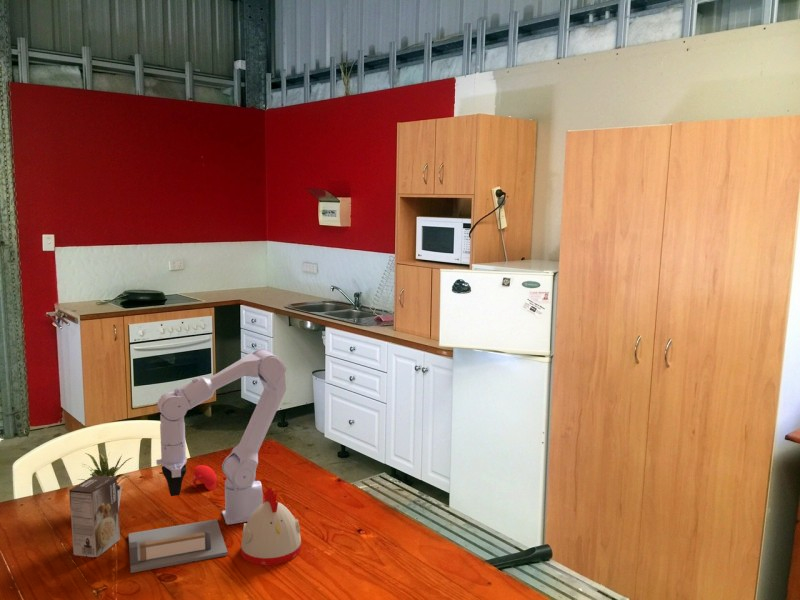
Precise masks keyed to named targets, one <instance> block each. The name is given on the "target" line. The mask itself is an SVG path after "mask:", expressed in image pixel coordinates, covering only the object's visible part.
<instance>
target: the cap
mask: <svg viewBox="0 0 800 600" xmlns="http://www.w3.org/2000/svg"><path fill="white" fill-rule="evenodd" d="M217 478H218V476H217V475H216V473H215V471H214V470H213V469H212V468H211V467H209V466H208V465H203V464H200V465H197V466H196V467H195V468H194V470H193V476H192V483H193V487H194V488H195V489H196V488H197V483H196V482H197V481H199V483H202V484H203V485H204V487H205V488H206V489H207V490H208V491H213V490H215V489H216V487H217V483H218V482H217Z"/></svg>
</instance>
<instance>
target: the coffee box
mask: <svg viewBox="0 0 800 600" xmlns="http://www.w3.org/2000/svg"><path fill="white" fill-rule="evenodd" d="M117 483H118V479H117V477H116V476H114V477H108V476H95V475H94V476H90V477H89V478H87V479H84V480H83V481H82V482H80V483H79V484H76V485H75V486H74V487H72V488H69V490H68V491H69V504H70V505H69V507H70V518H71V520H70V521H71V523H70V524H71V533H72V551H73V555H74V556H80V557H86V556H87V557H88V558H94V557H97V558H98V557H100V556H101V555H102V554H104V552H106V551H108V550H109V549H110V548H111V547H112V546H114V545H115V544H117V542H119V541H121V534H120V533H121V530H120V529H121V528H120V514H119V510H120V509H119V510H118V494H117Z"/></svg>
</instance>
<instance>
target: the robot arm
mask: <svg viewBox="0 0 800 600" xmlns="http://www.w3.org/2000/svg"><path fill="white" fill-rule="evenodd" d="M286 371H287V367H286V366H285V363H284V361H283V360H282V359H281V357H279V356H278V355H276V354H273V353H272V352H270V351H268V350H267V349H265V348H259V349H256V350H255V351H253V352H250V353H247V354H246V355H244V356H243V357H242V358H240V359H238V360H237V361H235V362H233V363H232V364H231V365H228V366H227V367H225V368H224V369H222V370H221V371H218V372H217V373H215V374H213V375H212V376H210V377H204V376H200V377H196V376H195V377H193V378H191V382H189V383H187V384H185V385H183V386H182V387H180V388H178V387H176V388H174V389H173V391H168V392H165V393H164V394H162V395H161V396H160V398H158V401H157V404H156V408H157V411H159V413H160V416H159V417H160V419H159V422H160V424H159V427H160V428H159V429H160V430H159V431H160V452H161V453H160V454H161V455H160V458H159V459H156V462H155V464H156V465H157V466H160V465H161V471H162V475H163V476H164V477H165V481H167V482H166V483H167V487H168V491H169V494H170V496H171V497H176V496H180V495H181V490H182V485H183V480H184V477H185V475H186V473H187V471H188V469H187V464H186V463H187V461H188V459H187V457H188V456H187V455H186V454H187V453H186V452H187V451H186V450H187V449H186V448H187V447H186V423H185V416H186V415H187V412H188V411H189V410H192V409H194V407H196V406H199V405H200V404H202V403H204V402H206V401H208V400H209V399H211V398H213V396H214V395H215V392H216V390H219V389H220V388H222V387H224V386H226V385H228V384H230V383H232V382H234V381H237V380H239V379H241V378H242V377H243V378H244V377H251V378H259V381H260V382H261V385H262V387H263V391H262V393H261V394H260V397H259V399H258V402H257V404H256V406H255V408H254V411H253V412H252V414H251V417H250V419H249V422H248V424H247V426H246V428H245V431H244V433H243V434H242V437H241V439H240V441H239V444H236V446H235V447H233V448H232V450H231V452H230V453H229V455H227V456H226V458H225V459H224V460H223V462H222V466H221V469H222V472H223V473H224V475H225V476H226V479H225V482H224V502H225V503H224V504H225V505H224V508H225V510H222V511H221V513H222V517H223V519H224V522H225V524H226V525H233V524H234V525H235V524H239V523H240V524H241V523H246V522H248V520H249V518H250V516H251V515H252V513H253V512H254V511H255V510H256V509H257V508H258V507H259V506H260V505H261V504H263V503H264V492H263V486H262V482H261V481H260V480H256V476H257V474H256V473H257V472H256V471H257V468H258V465H259V451H260V449H261V446H262V444H263V442H264V441H265V440H264V439H265V437H266V435H267V433H268V431H269V428H270V426H271V424H272V422H273V420H274V418H275V416H276V413H277V411H278V409H279V406H280V405H281V402H282V400H283V398H284V395H285V393H286V390H287V384H286V383H287V382H286V381H287V380H286Z"/></svg>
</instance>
